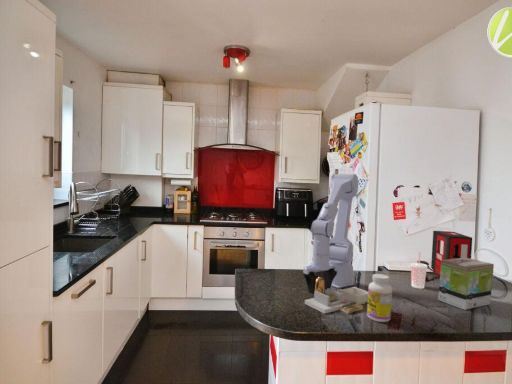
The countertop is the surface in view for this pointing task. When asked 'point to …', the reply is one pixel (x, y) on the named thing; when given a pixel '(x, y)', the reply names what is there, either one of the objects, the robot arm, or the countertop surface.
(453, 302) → the tea box
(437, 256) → the cleaning product box
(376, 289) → the supplement bottle
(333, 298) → the pad
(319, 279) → the cell
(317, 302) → the white compartment tray
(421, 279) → the beverage cup
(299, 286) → the countertop surface
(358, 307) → the trough
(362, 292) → the white square open box
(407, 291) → the countertop surface
